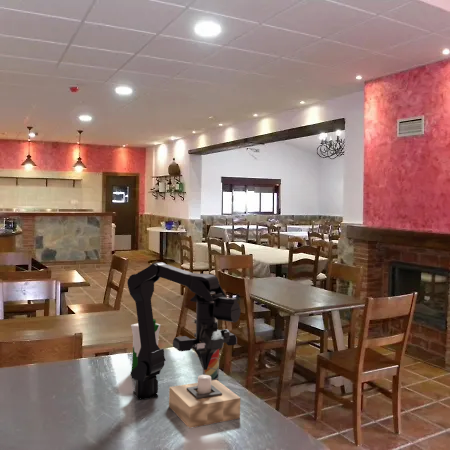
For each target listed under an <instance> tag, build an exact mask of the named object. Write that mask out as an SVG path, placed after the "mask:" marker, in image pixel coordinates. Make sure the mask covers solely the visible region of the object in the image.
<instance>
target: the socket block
mask: <svg viewBox="0 0 450 450" xmlns="http://www.w3.org/2000/svg"><path fill="white" fill-rule="evenodd" d="M168 388H169V389H168V390H169V392H168V393H169V396H168V397H169V399H168V407H169V408H170V409H171V410H172V411H173V413H175V415H176V417H177V416H178V418H179V419H180V420H181V421H182V422H183V423H184V424H185V425H186V426H187V428H188V427H189V428H188V429H191V428H192V427H193V428H197V426H198V427H201V426H202V427H204V426H208V425H213V424H217V423H222V422H228V421H232V420H238V419H240V418H241V397H240V396H239V395H237V394H236V393H235V392H233V390H231V389H229V388H228V387H227V386H226V385H224V384H223V383H221V382H220V381H219V380H218V379H217V380H212V381H211V393H207V394H201V395H200V394H199V393H197V389H198V382H193V383H189V384H187V383H186V384H180V385H173V386H169V387H168ZM193 428H192V429H193Z"/></svg>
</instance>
